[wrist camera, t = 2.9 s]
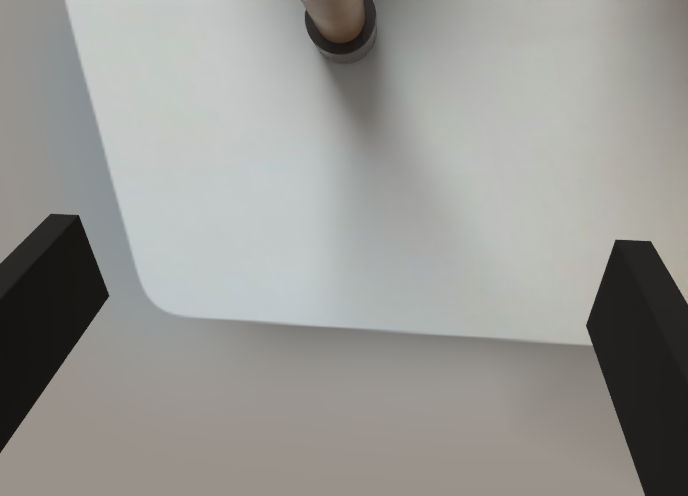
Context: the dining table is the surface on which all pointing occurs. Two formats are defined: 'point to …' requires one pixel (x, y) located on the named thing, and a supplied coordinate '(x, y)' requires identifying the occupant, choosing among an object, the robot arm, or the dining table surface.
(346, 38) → the brush
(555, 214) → the dining table surface
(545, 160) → the dining table surface
